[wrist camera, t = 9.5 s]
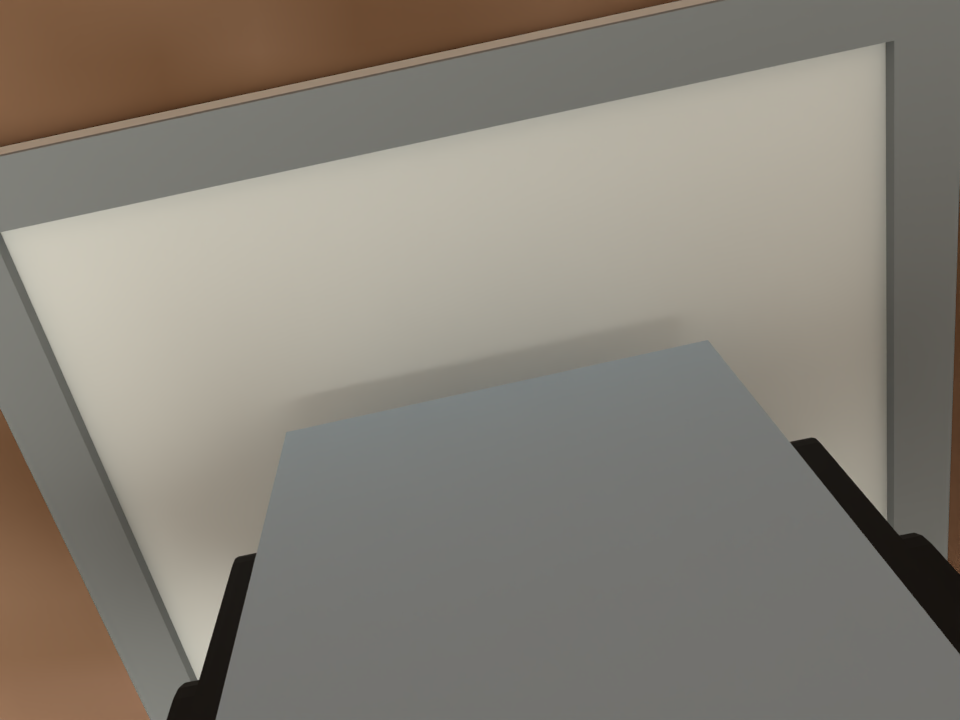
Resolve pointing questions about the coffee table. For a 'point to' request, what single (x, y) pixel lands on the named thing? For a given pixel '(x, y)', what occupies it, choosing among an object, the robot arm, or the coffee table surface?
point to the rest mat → (479, 268)
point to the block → (575, 565)
